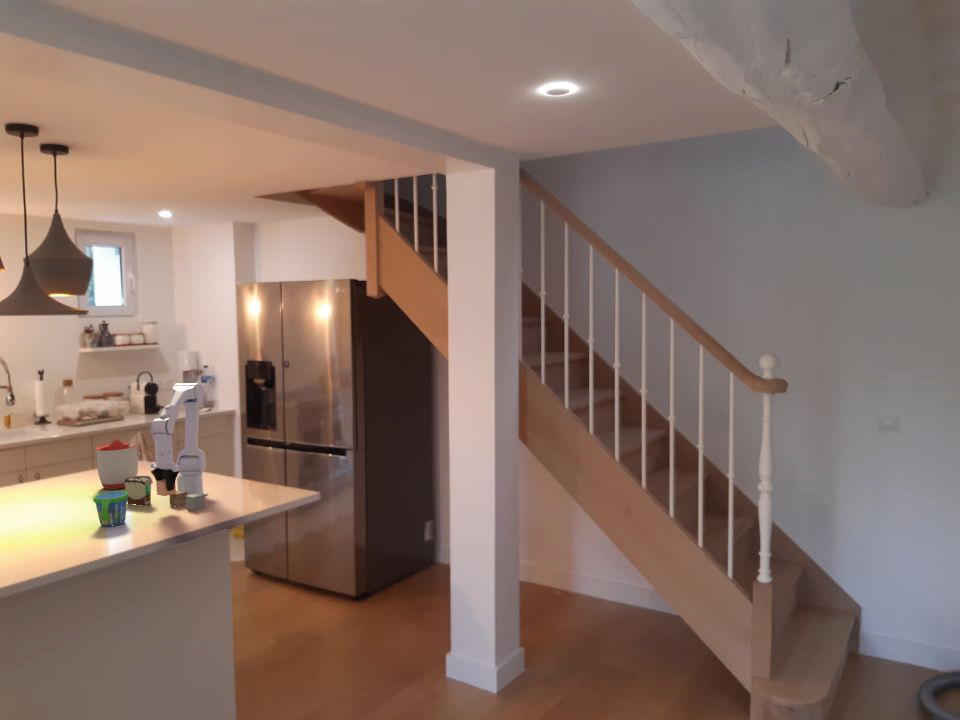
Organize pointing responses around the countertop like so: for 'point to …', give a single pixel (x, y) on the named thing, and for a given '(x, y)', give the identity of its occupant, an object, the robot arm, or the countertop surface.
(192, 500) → the slate block
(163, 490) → the terracotta block
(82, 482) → the countertop surface
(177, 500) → the walnut block
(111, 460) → the citrus juicer
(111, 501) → the snack cup
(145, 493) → the food container
